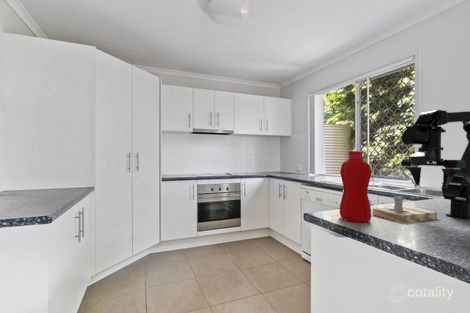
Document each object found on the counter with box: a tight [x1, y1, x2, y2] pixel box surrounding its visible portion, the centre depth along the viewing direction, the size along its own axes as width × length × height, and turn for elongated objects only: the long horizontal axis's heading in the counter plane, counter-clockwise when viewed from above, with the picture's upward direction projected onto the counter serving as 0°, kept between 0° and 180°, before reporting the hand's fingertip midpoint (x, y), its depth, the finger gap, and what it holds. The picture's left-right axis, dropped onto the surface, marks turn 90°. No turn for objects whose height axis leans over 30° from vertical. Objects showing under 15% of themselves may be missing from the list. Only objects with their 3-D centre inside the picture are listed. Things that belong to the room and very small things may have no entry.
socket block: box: [371, 205, 438, 224], centre depth 91 cm, size 18×12×2 cm, turn 109°
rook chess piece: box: [392, 195, 404, 213], centre depth 90 cm, size 4×4×8 cm
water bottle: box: [339, 150, 374, 223], centre depth 86 cm, size 9×11×25 cm
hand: (430, 186), depth 89 cm, fingers open, 9 cm apart
